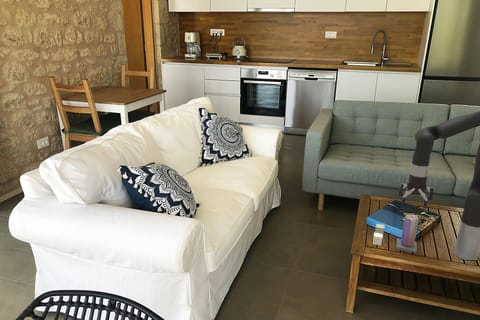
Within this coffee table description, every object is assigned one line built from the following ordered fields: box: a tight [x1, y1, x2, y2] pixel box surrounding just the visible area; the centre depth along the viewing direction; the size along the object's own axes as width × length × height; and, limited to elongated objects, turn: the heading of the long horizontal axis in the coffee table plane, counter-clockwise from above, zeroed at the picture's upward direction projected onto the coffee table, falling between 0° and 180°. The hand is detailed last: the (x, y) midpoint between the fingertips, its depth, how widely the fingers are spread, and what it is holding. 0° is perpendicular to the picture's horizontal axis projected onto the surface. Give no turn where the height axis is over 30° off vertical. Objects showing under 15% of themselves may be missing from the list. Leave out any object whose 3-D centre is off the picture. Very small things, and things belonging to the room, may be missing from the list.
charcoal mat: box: [396, 237, 418, 254], centre depth 189 cm, size 9×9×1 cm
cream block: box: [372, 231, 384, 246], centre depth 191 cm, size 4×4×4 cm
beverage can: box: [400, 213, 419, 247], centre depth 186 cm, size 6×6×15 cm
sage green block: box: [374, 223, 385, 235], centre depth 200 cm, size 4×4×4 cm
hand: (413, 205), depth 182 cm, fingers open, 8 cm apart
